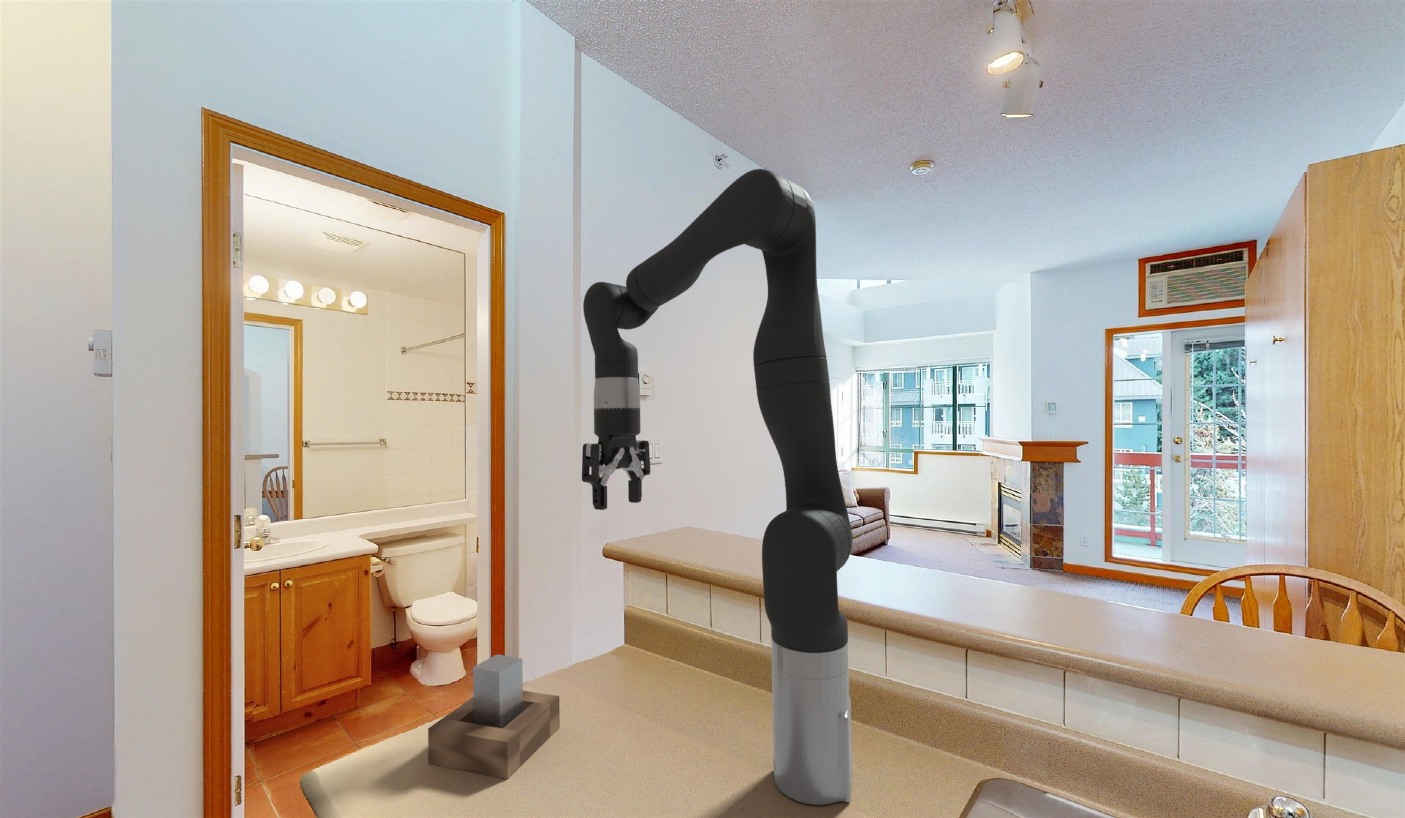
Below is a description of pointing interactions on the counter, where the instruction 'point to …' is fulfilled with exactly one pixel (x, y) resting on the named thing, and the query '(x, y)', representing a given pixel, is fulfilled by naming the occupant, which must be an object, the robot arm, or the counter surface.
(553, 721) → the well block
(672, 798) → the counter surface
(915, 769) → the counter surface
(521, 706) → the grey square pillar
